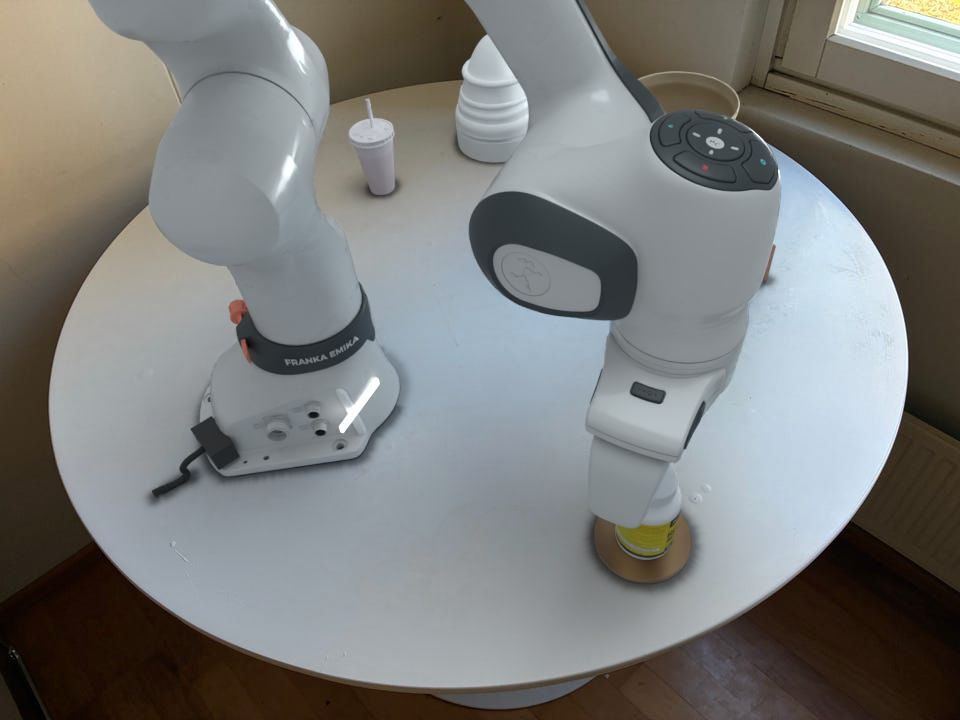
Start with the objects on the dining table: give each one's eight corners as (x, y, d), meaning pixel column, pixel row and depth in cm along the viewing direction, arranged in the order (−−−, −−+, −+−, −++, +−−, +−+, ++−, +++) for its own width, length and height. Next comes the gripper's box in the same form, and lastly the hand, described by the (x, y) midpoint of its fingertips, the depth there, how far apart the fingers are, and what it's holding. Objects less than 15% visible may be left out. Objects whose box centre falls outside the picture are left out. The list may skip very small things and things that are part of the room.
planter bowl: (645, 127, 119) (651, 61, 111) (744, 156, 112) (759, 87, 104) (592, 181, 111) (594, 113, 103) (696, 216, 104) (707, 146, 96)
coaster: (618, 597, 69) (618, 594, 68) (579, 514, 75) (579, 511, 74) (708, 565, 70) (709, 562, 70) (662, 486, 76) (663, 483, 76)
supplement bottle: (672, 566, 70) (685, 510, 63) (612, 557, 71) (618, 501, 64) (674, 514, 73) (687, 455, 66) (617, 506, 74) (623, 448, 67)
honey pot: (546, 119, 123) (544, 5, 109) (531, 165, 115) (528, 49, 101) (468, 114, 125) (458, 3, 112) (448, 159, 117) (434, 45, 104)
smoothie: (412, 181, 114) (397, 95, 104) (386, 205, 111) (368, 118, 100) (378, 170, 117) (361, 85, 106) (352, 193, 113) (331, 107, 103)
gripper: (673, 242, 60) (652, 359, 70) (575, 435, 48) (566, 543, 58) (755, 263, 58) (720, 381, 68) (673, 471, 46) (646, 576, 56)
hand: (648, 457), depth 63 cm, fingers open, 8 cm apart
